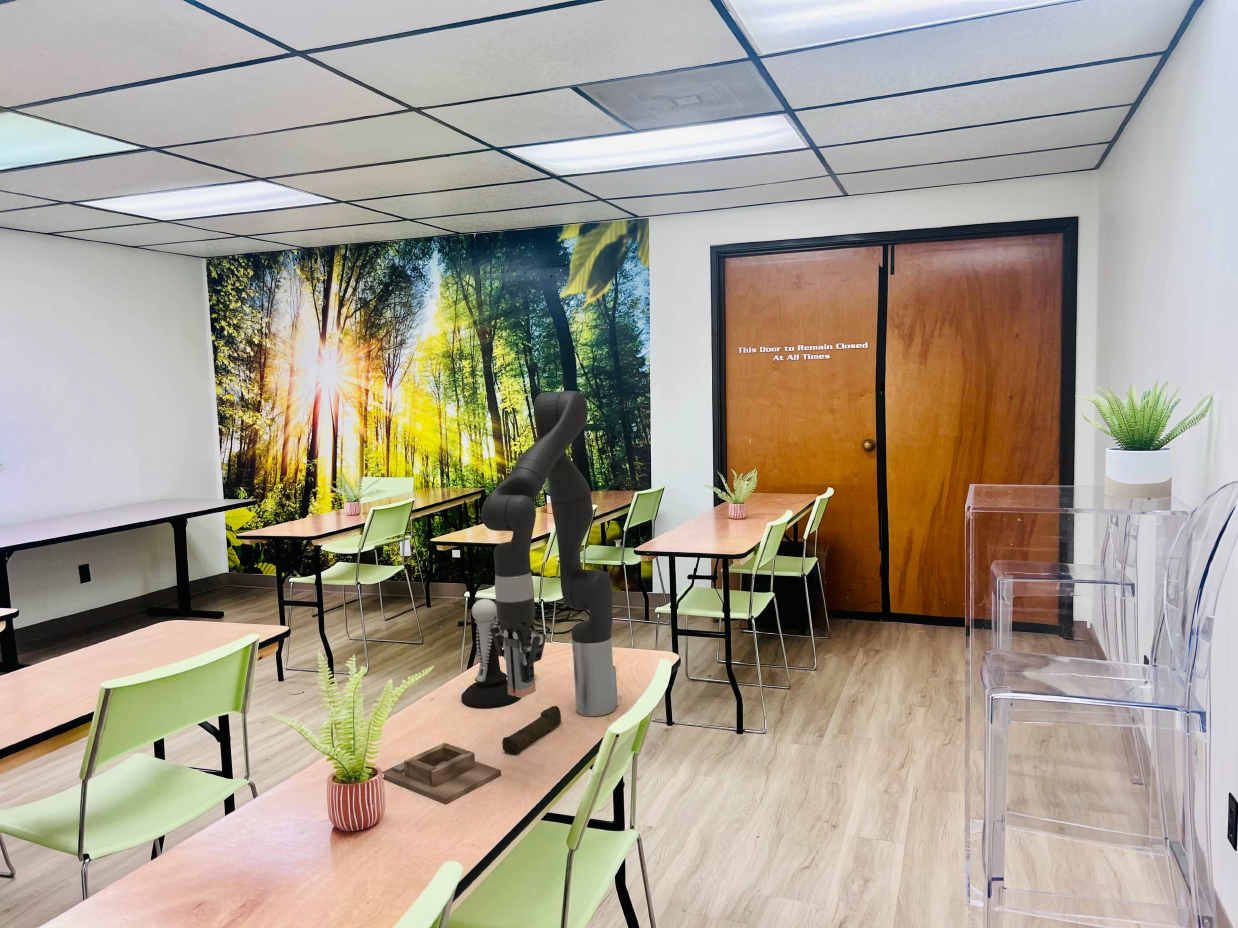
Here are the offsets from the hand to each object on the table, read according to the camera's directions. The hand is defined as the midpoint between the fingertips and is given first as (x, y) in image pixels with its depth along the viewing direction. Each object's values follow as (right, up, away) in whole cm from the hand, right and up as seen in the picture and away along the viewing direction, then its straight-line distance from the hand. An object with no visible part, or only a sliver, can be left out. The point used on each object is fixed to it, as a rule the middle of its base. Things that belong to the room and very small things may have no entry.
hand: (521, 679), depth 169 cm
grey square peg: (0, -3, 0) cm, 3 cm away
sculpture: (-10, -15, +46) cm, 49 cm away
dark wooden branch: (+1, -17, +17) cm, 24 cm away
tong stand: (-16, -19, 0) cm, 25 cm away
